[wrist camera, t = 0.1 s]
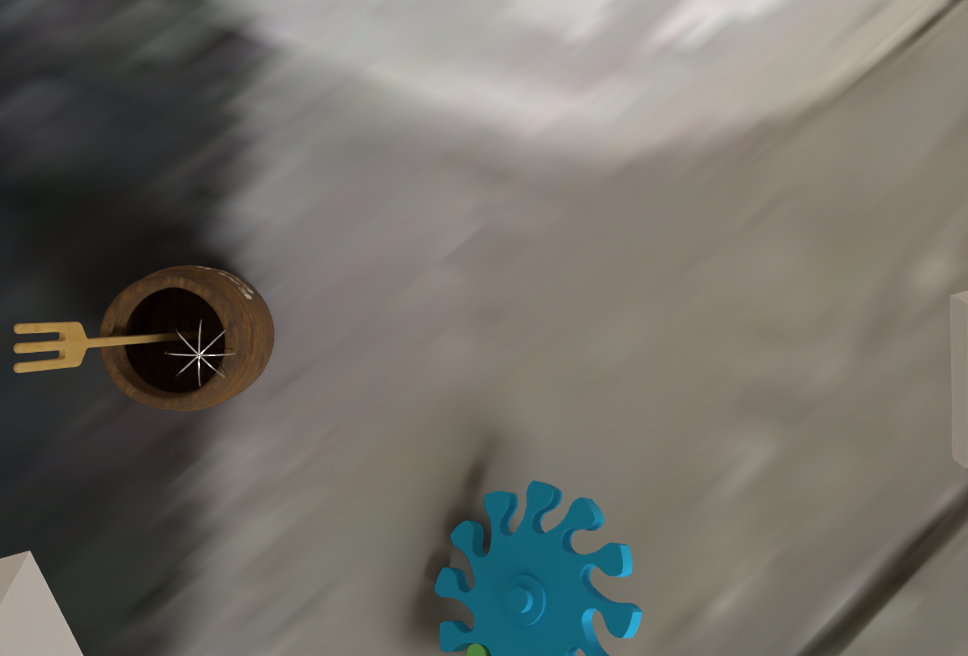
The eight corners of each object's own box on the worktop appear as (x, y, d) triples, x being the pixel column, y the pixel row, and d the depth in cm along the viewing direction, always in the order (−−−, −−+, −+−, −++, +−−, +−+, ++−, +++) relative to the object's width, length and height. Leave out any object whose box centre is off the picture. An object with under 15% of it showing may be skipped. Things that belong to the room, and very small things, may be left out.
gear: (505, 434, 39) (673, 582, 32) (572, 453, 43) (732, 585, 37) (379, 632, 40) (517, 810, 34) (458, 630, 45) (592, 787, 38)
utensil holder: (277, 400, 39) (219, 445, 27) (135, 397, 39) (12, 443, 27) (280, 270, 39) (222, 259, 27) (136, 266, 39) (13, 252, 27)
